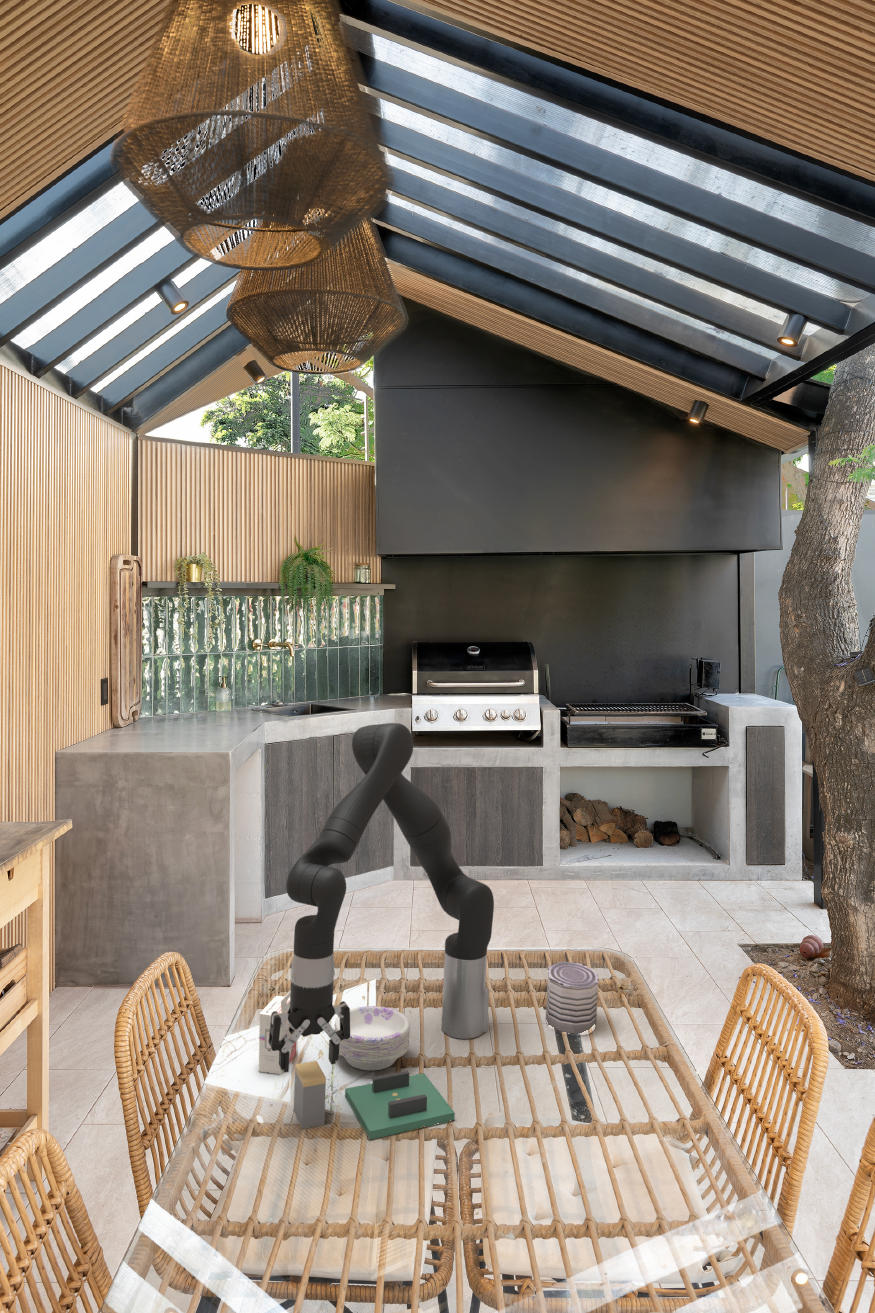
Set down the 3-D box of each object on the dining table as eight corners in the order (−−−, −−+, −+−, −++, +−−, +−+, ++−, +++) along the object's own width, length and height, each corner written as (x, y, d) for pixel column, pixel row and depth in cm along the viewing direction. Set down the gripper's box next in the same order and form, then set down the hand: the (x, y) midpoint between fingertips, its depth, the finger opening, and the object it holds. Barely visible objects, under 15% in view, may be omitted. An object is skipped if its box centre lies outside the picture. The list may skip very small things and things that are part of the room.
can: (590, 1013, 196) (593, 962, 195) (601, 1037, 184) (604, 983, 184) (541, 1012, 195) (543, 961, 195) (549, 1036, 184) (551, 982, 183)
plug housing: (315, 1106, 155) (316, 1060, 154) (324, 1124, 149) (325, 1077, 149) (293, 1110, 153) (295, 1064, 153) (302, 1129, 147) (303, 1081, 147)
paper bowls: (397, 1036, 181) (398, 1000, 181) (417, 1074, 167) (419, 1034, 166) (326, 1045, 176) (328, 1008, 176) (341, 1084, 162) (342, 1044, 162)
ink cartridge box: (274, 1050, 174) (276, 980, 173) (296, 1053, 173) (299, 983, 172) (256, 1072, 165) (259, 998, 164) (280, 1075, 164) (283, 1001, 163)
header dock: (423, 1080, 164) (424, 1060, 164) (454, 1120, 152) (455, 1099, 151) (344, 1096, 158) (345, 1075, 158) (369, 1140, 145) (370, 1117, 145)
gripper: (344, 964, 156) (340, 1050, 157) (267, 973, 150) (264, 1062, 151) (357, 980, 149) (353, 1070, 150) (277, 991, 144) (273, 1084, 144)
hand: (308, 1066), depth 151 cm, fingers open, 8 cm apart
